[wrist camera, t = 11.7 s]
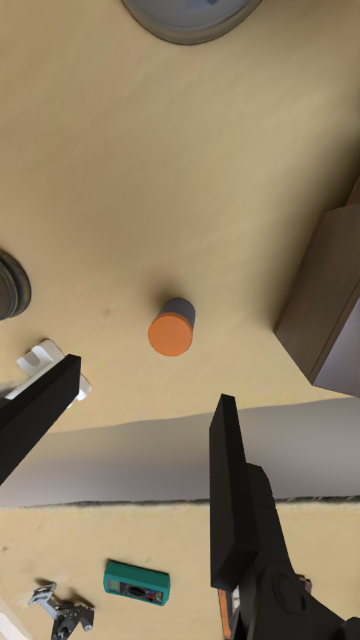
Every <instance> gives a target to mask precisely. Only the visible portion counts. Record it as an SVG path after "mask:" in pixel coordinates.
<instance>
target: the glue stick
mask: <svg viewBox="0 0 360 640" xmlns="http://www.w3.org/2000/svg"><path fill="white" fill-rule="evenodd" d="M194 322H195V309H194V307H193V306H192V304H191V303H190V302H188V301H187V300H185V299H181V298H175V299H172V300H170V301H168V302H167V303H166V304H165V306H164V307H163V309H162V310H161V311H160V313H159V314H158V316H157V317H156V318H155V319H154V321H153V322H152V324H151V325H150V327H149V330H148V338H149V342H150V344H151V346H152V347H153V348H154V349H155V350H156V351H157V352H158V353H160V354H162V355H165V356H178V355H180V354H182V353H184V352H185V351H186V350H187V349H188V348H189V347H190V345H191V342H192V336H193V328H194Z"/></svg>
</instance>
